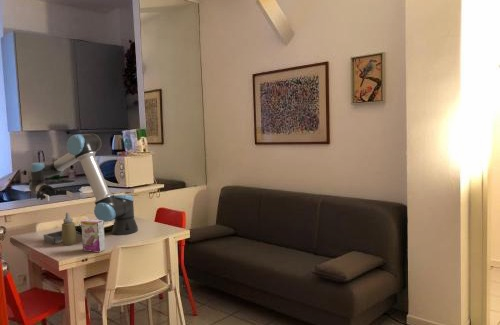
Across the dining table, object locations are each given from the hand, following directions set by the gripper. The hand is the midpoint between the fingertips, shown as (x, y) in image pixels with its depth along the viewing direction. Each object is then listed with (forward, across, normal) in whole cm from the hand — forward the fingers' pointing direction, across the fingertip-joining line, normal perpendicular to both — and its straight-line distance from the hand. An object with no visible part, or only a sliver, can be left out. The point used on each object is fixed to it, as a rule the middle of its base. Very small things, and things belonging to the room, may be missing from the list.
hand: (60, 196), depth 243 cm
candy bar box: (+34, -2, -24) cm, 42 cm away
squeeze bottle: (+11, 0, -26) cm, 28 cm away
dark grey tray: (-2, 0, -26) cm, 26 cm away
